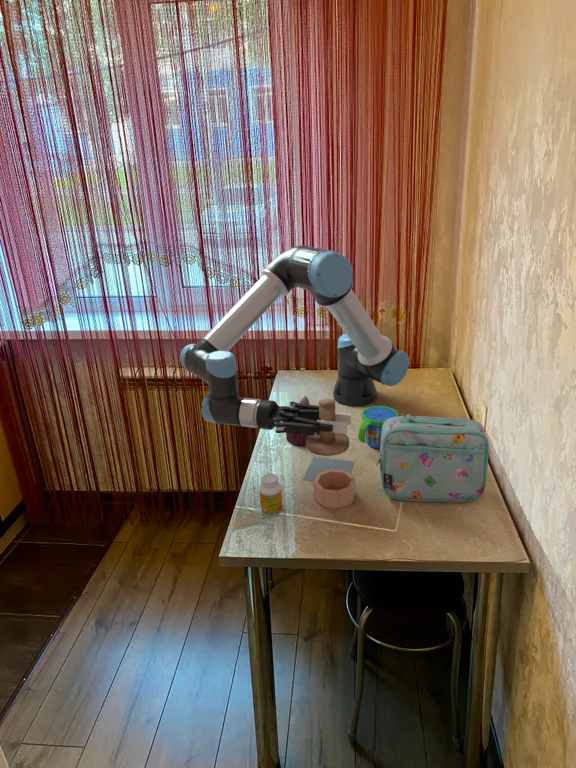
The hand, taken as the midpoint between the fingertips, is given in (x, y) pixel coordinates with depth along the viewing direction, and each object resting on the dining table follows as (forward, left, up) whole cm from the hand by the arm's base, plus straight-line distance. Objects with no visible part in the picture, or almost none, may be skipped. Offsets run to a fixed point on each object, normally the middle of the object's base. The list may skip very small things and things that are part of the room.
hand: (348, 423), depth 137 cm
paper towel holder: (0, -5, -7) cm, 9 cm away
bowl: (+4, -3, -19) cm, 20 cm away
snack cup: (-25, +4, -20) cm, 32 cm away
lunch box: (-3, +20, -20) cm, 28 cm away
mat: (-7, -7, -19) cm, 22 cm away
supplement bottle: (+13, -17, -20) cm, 29 cm away
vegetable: (-23, -19, -20) cm, 36 cm away
